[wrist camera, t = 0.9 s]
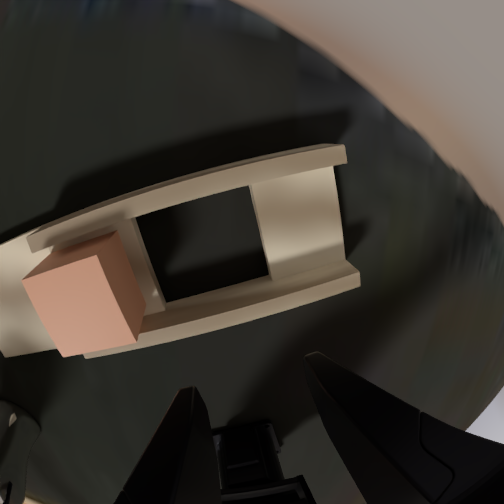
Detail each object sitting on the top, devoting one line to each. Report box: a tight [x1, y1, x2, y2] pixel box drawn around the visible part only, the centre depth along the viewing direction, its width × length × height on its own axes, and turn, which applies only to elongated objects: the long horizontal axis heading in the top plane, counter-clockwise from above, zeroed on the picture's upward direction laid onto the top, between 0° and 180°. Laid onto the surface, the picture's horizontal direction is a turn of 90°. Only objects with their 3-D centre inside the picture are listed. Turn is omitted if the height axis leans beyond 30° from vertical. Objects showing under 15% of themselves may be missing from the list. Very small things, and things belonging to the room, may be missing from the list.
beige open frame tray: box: [0, 144, 360, 359], centre depth 16 cm, size 8×28×3 cm, turn 103°
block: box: [21, 230, 146, 357], centre depth 15 cm, size 5×5×4 cm
